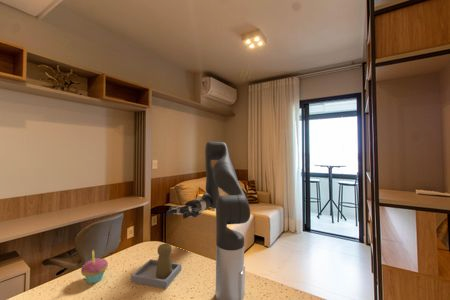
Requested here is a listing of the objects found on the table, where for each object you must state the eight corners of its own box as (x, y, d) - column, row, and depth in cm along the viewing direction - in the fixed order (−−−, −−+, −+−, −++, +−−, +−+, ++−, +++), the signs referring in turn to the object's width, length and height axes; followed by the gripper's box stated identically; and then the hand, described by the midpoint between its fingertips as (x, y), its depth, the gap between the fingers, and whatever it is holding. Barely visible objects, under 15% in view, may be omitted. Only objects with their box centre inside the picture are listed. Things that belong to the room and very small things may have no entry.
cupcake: (103, 284, 76) (104, 250, 76) (76, 288, 74) (76, 253, 74) (110, 271, 84) (110, 240, 84) (85, 274, 82) (86, 243, 82)
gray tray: (181, 270, 86) (181, 263, 86) (166, 289, 74) (166, 281, 74) (150, 265, 89) (150, 259, 89) (131, 282, 77) (131, 275, 77)
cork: (167, 279, 77) (168, 249, 78) (152, 277, 79) (153, 247, 79) (175, 270, 83) (175, 242, 83) (160, 268, 85) (161, 240, 85)
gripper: (183, 197, 109) (162, 204, 94) (208, 200, 103) (189, 207, 89) (183, 212, 109) (161, 221, 94) (208, 216, 103) (189, 226, 88)
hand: (175, 215), depth 91 cm, fingers open, 8 cm apart
